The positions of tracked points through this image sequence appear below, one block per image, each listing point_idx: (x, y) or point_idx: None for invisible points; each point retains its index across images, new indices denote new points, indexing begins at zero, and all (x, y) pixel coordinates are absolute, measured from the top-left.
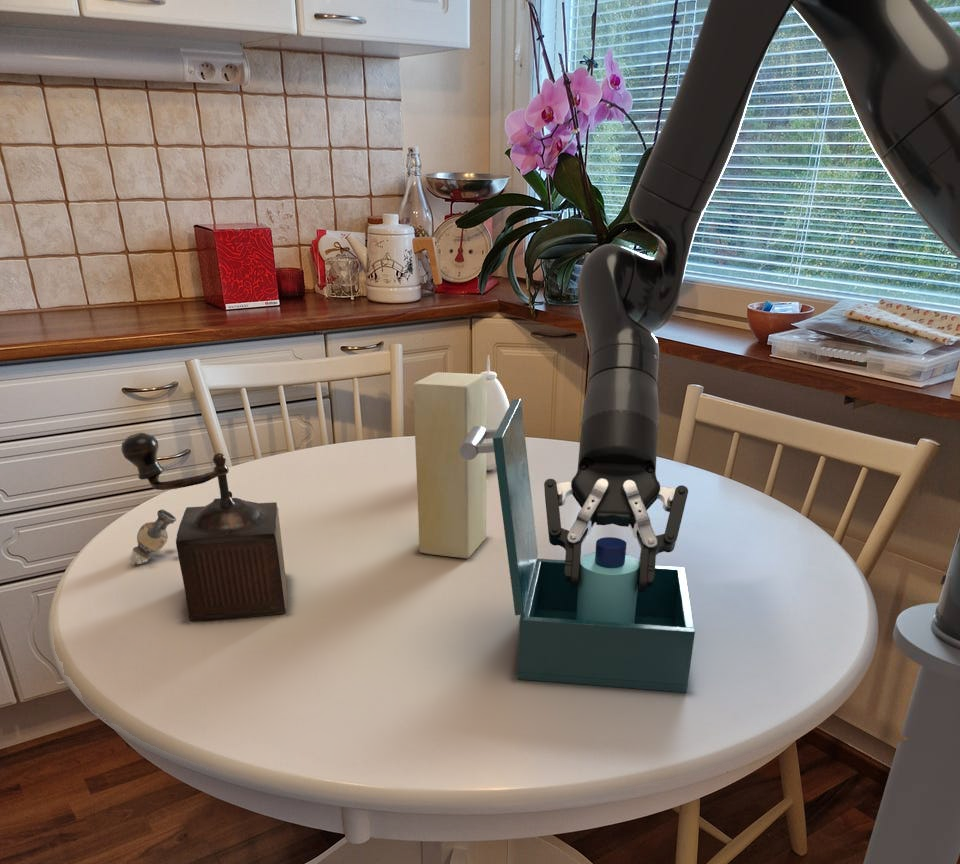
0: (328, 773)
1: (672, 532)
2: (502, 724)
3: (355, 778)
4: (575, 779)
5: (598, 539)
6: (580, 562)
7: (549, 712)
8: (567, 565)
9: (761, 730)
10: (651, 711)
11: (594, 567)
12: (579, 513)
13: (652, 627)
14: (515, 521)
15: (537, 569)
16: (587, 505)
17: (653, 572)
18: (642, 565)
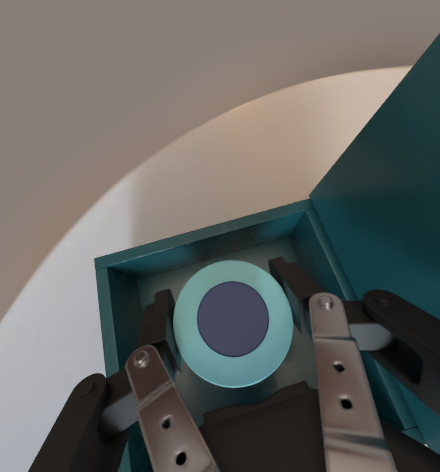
0: (342, 80)
1: (79, 404)
2: (268, 165)
3: (323, 82)
4: (193, 132)
5: (267, 322)
6: (284, 293)
7: (240, 194)
8: (302, 274)
9: (63, 242)
10: (158, 231)
11: (250, 279)
12: (354, 344)
13: (148, 247)
14: (430, 107)
15: (387, 383)
16: (351, 377)
17: (145, 318)
18: (162, 310)
